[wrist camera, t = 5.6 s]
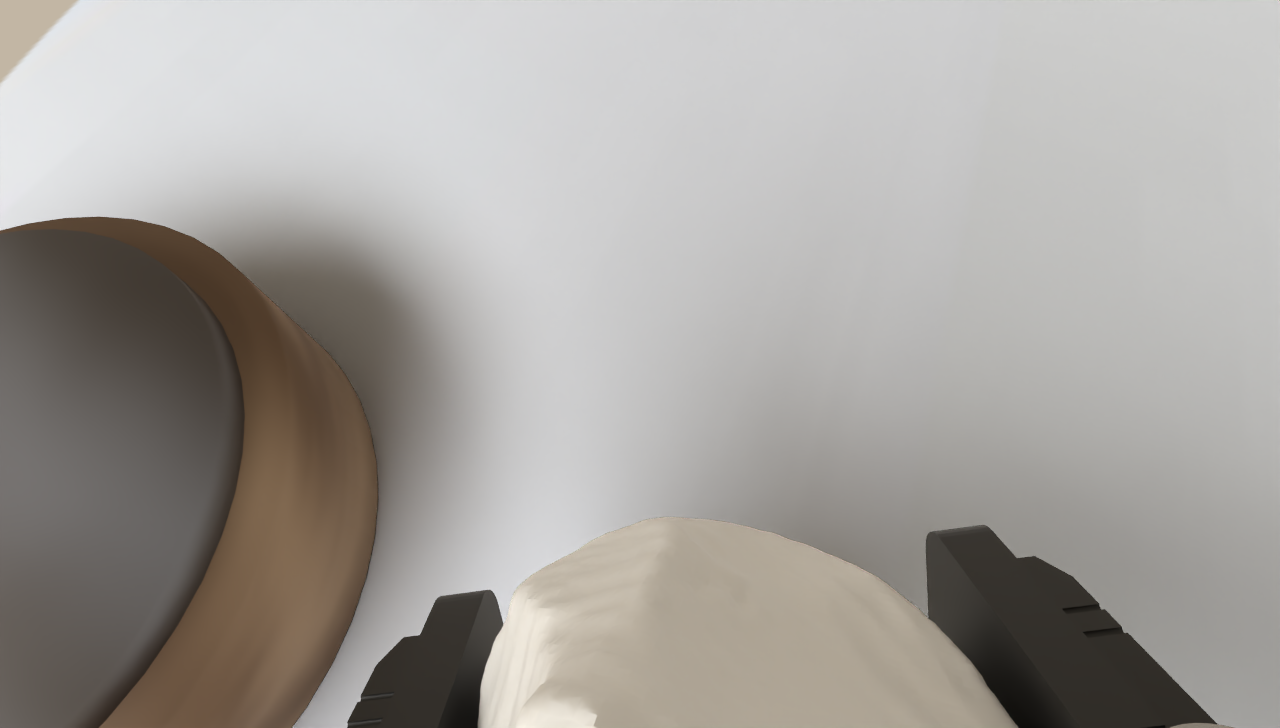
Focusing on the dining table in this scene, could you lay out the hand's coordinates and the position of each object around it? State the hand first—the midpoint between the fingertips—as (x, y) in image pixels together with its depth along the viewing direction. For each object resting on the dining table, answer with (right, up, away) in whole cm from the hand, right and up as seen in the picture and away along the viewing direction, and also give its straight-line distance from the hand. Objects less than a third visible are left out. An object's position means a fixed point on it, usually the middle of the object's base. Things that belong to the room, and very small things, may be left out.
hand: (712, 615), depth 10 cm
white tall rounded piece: (+1, -4, +5) cm, 6 cm away
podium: (-15, -1, +8) cm, 17 cm away
